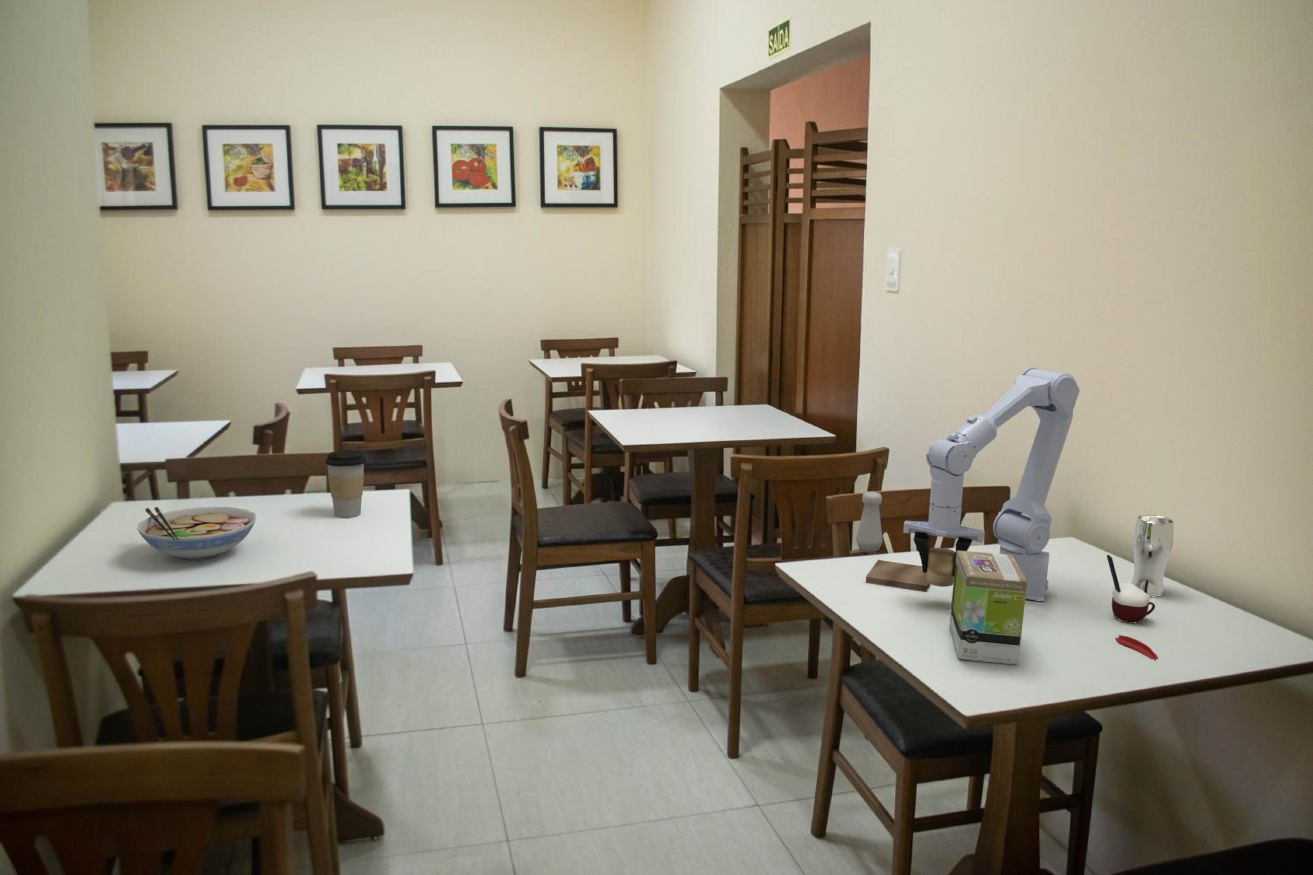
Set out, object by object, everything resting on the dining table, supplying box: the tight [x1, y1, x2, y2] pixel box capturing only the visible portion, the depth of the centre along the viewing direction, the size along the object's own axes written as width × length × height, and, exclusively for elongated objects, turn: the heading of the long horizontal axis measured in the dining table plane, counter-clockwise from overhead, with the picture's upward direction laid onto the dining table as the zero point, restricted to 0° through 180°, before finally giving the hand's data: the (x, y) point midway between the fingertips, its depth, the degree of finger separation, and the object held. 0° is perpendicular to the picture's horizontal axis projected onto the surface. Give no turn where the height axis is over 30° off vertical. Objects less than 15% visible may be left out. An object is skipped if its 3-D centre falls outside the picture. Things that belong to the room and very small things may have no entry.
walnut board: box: [865, 559, 931, 593], centre depth 210 cm, size 12×12×1 cm
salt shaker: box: [855, 491, 884, 553], centre depth 227 cm, size 6×6×13 cm
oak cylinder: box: [926, 547, 956, 588], centre depth 194 cm, size 5×5×6 cm
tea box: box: [949, 550, 1027, 665], centre depth 175 cm, size 15×10×15 cm, turn 170°
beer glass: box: [1130, 514, 1175, 596], centre depth 203 cm, size 7×7×15 cm
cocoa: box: [1106, 554, 1156, 624], centre depth 189 cm, size 10×6×12 cm, turn 67°
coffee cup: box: [324, 449, 367, 519], centre depth 245 cm, size 9×9×15 cm
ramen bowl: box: [136, 506, 257, 561], centre depth 214 cm, size 25×23×8 cm
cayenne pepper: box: [1115, 634, 1159, 662], centre depth 177 cm, size 12×5×2 cm, turn 177°
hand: (940, 573), depth 194 cm, fingers closed on oak cylinder, 5 cm apart
